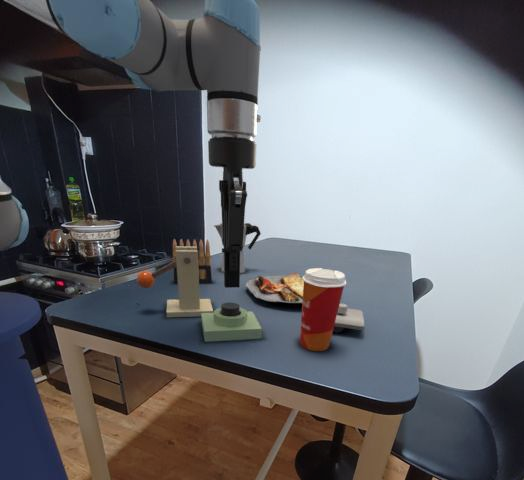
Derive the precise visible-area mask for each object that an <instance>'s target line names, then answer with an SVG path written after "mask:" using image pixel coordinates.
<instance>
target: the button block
mask: <svg viewBox="0 0 524 480" xmlns="http://www.w3.org/2000/svg"><path fill="white" fill-rule="evenodd" d="M200 317H201V319H200V320H201V327H202V333H203V339H204V342H205V343H208V342H226V341H228V342H229V341H246V340H247V341H249V340H261V339H262V334H263V328H262V327H261V324H260V322H259V321H258V319H257V316H256V315H255V314H254V311H247V310H246V309H244V308H242V307H240V314H239V315H238V316H230V317H229V316H224V315H222V314H221V307H217V308H215V310H213V313H201V316H200Z"/></svg>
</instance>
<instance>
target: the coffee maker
mask: <svg viewBox="0 0 524 480" xmlns="http://www.w3.org/2000/svg"><path fill="white" fill-rule="evenodd" d="M213 227H214V228H215V229H216V231H217V233H218V234H219V237H220V240H221V245H222V246H223V245H224V244H223V242H222V239H223V236H222V222H221V223H219V224H214V225H213ZM253 233H256V234H255V236H254V237H253V239H252V240H251V242H250V243H249V245H248V246H247V248H248V249H249V251H251V250H252V248H253V246H255V243H256V242H257V240H258V239H259V237H260V236H261V234H262V233H261V231H260V228H259V226H257V225H253V224H252V223H249V222H244V232H243V248H244V247H245V246H246V241H247V236H248V235H251V234H253ZM245 265H246V264H245V255H244V249H243V250H242V251H240V274H245V273H246V266H245ZM220 272H221V273H224V252H222V261H221V267H220Z"/></svg>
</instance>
